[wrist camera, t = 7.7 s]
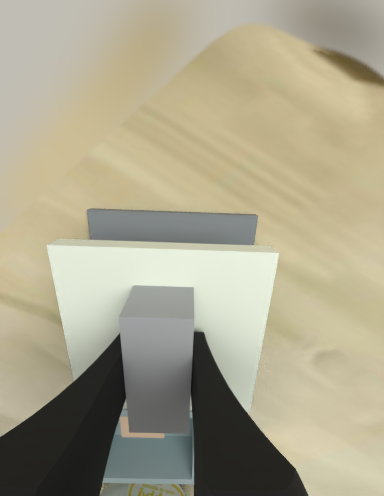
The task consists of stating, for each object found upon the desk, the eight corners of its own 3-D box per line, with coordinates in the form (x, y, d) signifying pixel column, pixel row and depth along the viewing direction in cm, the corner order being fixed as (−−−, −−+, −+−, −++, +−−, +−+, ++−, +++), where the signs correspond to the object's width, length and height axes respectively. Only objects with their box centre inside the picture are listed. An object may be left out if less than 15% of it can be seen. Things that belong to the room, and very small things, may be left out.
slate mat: (106, 340, 20) (103, 345, 19) (90, 208, 16) (86, 210, 15) (237, 344, 20) (239, 349, 20) (255, 214, 16) (257, 216, 15)
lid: (86, 392, 15) (56, 455, 12) (58, 238, 11) (3, 267, 8) (246, 396, 15) (261, 459, 12) (271, 245, 11) (304, 277, 8)
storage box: (108, 434, 24) (93, 482, 20) (98, 365, 21) (78, 408, 17) (198, 435, 24) (199, 484, 21) (203, 368, 21) (206, 411, 17)
